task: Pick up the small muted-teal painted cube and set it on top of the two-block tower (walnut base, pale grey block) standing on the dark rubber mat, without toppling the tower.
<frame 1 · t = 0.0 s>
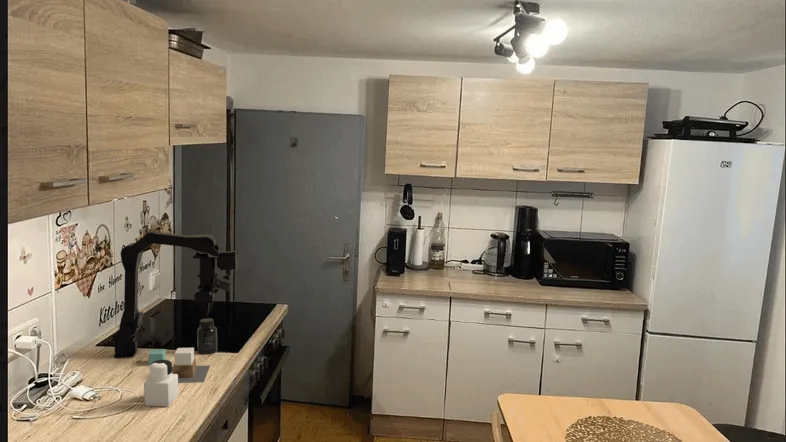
hand: (207, 312, 208), 15 cm above the counter, fingers open, 9 cm apart
teal cube: (157, 364, 198), on the counter
mat: (184, 375, 189), on the counter
supplement bottle: (207, 352, 210), on the counter
tower mid: (184, 362, 188), point 4 cm above the counter, touching tower base
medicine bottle: (161, 401, 169), on the counter
tower base: (184, 374, 188), resting on mat, touching tower mid
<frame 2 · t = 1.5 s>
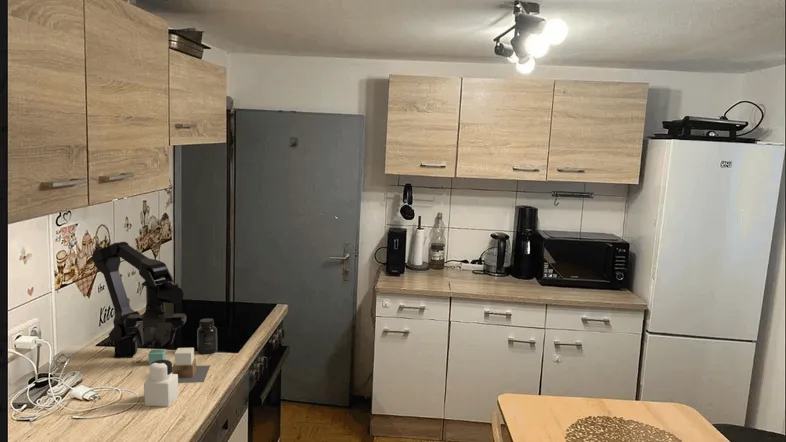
hand: (156, 344, 197), 7 cm above the counter, fingers open, 9 cm apart
nothing on the counter moved.
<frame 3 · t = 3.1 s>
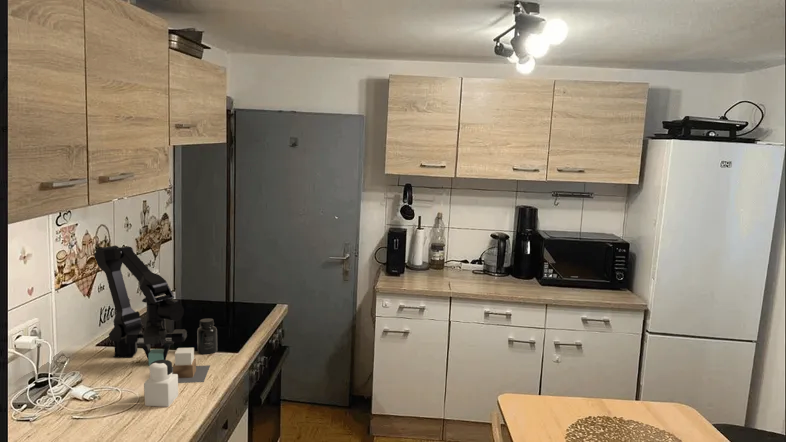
hand: (157, 360, 197), 1 cm above the counter, fingers closed on teal cube, 4 cm apart
teal cube: (157, 364, 197), on the counter, touching gripper
everything else where it was.
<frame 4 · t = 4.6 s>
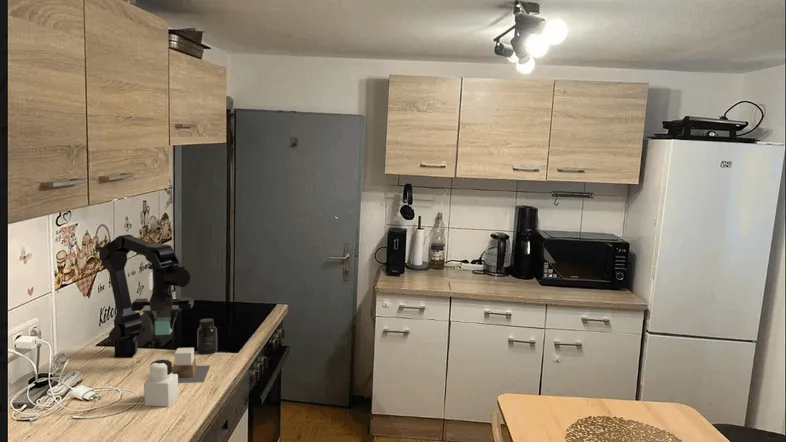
hand: (163, 329, 193), 13 cm above the counter, fingers closed on teal cube, 4 cm apart
teal cube: (163, 332, 194), point 12 cm above the counter, touching gripper
everything else where it was.
when the fingers open (10 cm above the counter, at t = 6.5 s): teal cube stays where it is, resting on tower mid.
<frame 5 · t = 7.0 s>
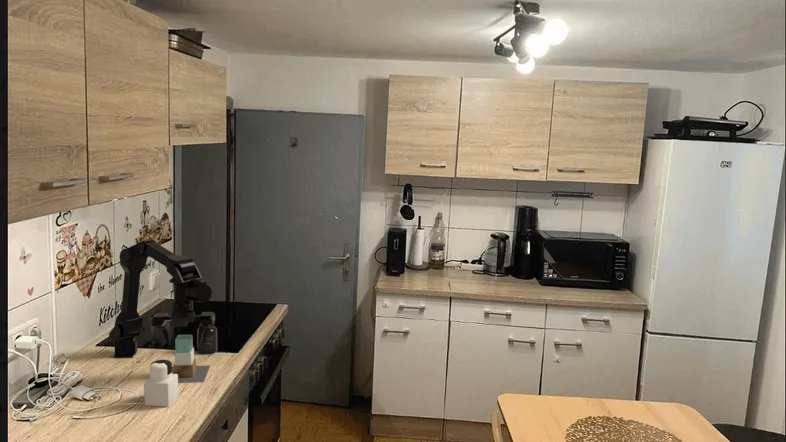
hand: (184, 344, 187), 10 cm above the counter, fingers open, 9 cm apart
teal cube: (184, 350, 187), point 8 cm above the counter, touching tower mid
tower mid: (184, 362, 188), point 4 cm above the counter, touching teal cube, tower base
everything else where it was.
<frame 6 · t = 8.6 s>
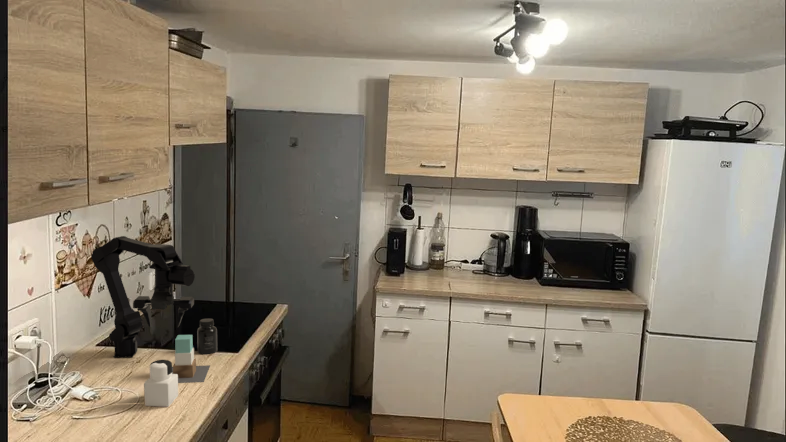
hand: (164, 326, 198), 12 cm above the counter, fingers open, 9 cm apart
nothing on the counter moved.
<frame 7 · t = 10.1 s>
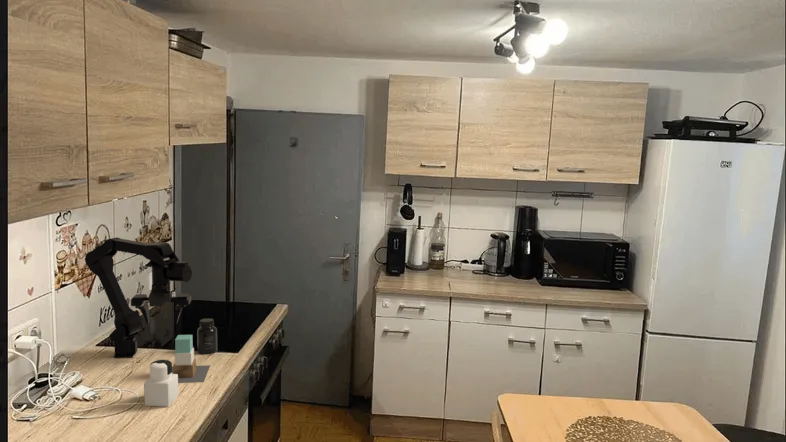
hand: (162, 323, 200), 13 cm above the counter, fingers open, 9 cm apart
nothing on the counter moved.
at the end: teal cube 0.1 cm off-centre on the tower base, point 8.0 cm above the tower base's base; tower mid tilted 0°; tower base moved 0.0 cm from its start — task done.
